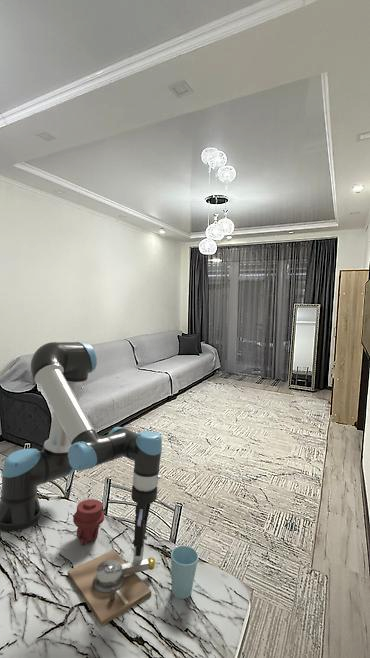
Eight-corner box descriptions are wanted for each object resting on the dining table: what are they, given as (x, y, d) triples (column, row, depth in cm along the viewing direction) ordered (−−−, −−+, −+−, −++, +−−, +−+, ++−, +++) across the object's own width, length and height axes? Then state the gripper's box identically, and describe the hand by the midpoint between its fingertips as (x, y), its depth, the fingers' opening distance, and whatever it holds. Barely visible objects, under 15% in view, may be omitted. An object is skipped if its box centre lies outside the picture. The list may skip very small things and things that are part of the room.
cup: (187, 607, 87) (191, 569, 87) (162, 594, 91) (166, 557, 90) (199, 588, 94) (202, 552, 94) (175, 576, 97) (178, 542, 97)
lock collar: (94, 571, 94) (95, 560, 94) (150, 559, 101) (151, 548, 101) (98, 590, 87) (99, 579, 87) (157, 576, 94) (158, 565, 94)
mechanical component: (107, 532, 114) (93, 552, 104) (81, 526, 116) (65, 545, 106) (110, 498, 114) (97, 514, 104) (84, 492, 116) (68, 507, 106)
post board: (67, 574, 94) (68, 561, 94) (113, 553, 105) (114, 540, 104) (101, 626, 80) (103, 610, 80) (151, 595, 90) (152, 580, 90)
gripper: (154, 498, 90) (146, 582, 91) (160, 476, 103) (153, 549, 104) (128, 495, 91) (120, 578, 91) (136, 473, 104) (129, 546, 104)
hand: (137, 563), depth 98 cm, fingers closed
